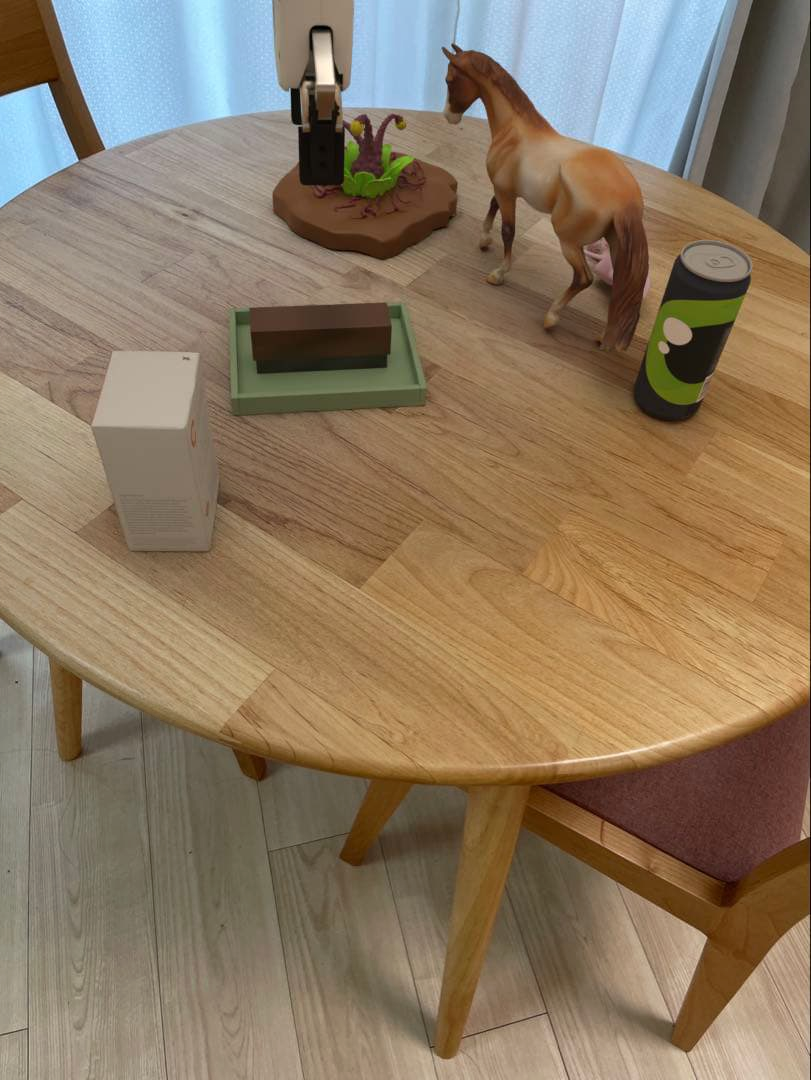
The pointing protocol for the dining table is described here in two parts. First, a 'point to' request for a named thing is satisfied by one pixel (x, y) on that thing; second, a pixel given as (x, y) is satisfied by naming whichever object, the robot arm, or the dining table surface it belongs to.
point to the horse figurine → (555, 190)
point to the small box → (158, 449)
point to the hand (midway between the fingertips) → (316, 152)
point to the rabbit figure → (606, 263)
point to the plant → (370, 197)
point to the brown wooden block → (320, 337)
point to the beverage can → (692, 328)
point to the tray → (326, 376)
